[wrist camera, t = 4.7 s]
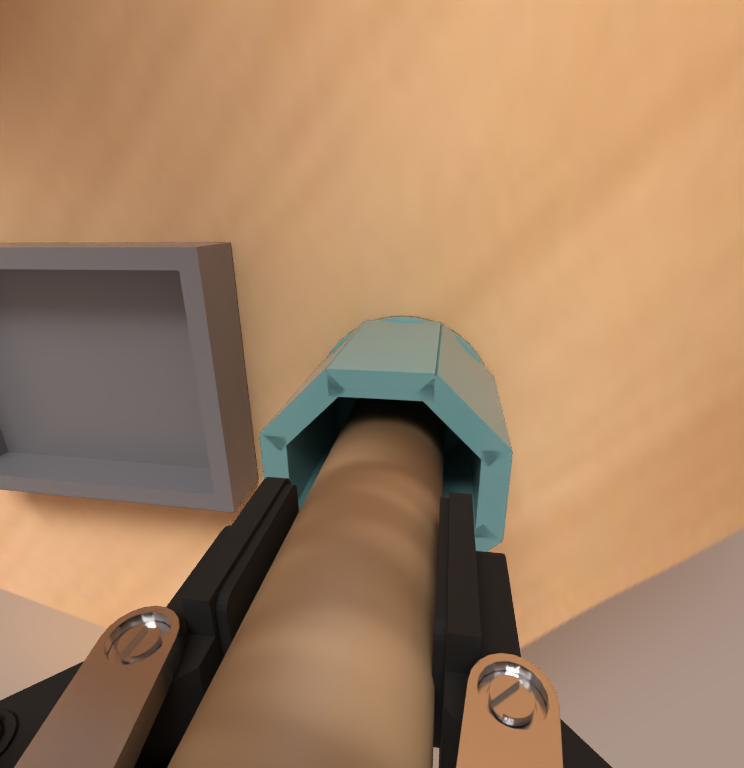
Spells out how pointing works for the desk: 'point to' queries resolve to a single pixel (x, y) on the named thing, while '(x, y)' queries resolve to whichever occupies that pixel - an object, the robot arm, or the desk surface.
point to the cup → (402, 382)
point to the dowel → (340, 615)
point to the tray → (124, 374)
